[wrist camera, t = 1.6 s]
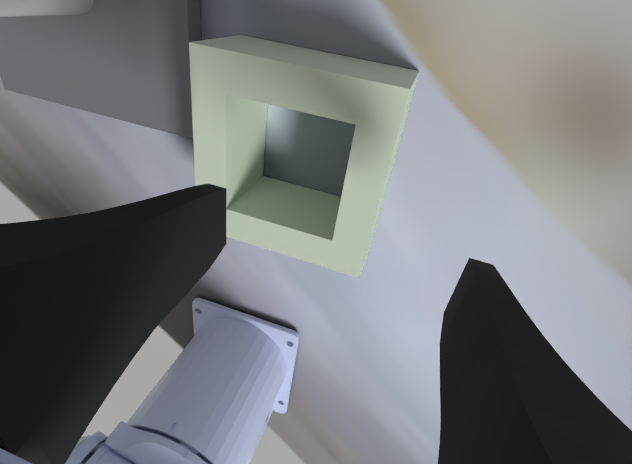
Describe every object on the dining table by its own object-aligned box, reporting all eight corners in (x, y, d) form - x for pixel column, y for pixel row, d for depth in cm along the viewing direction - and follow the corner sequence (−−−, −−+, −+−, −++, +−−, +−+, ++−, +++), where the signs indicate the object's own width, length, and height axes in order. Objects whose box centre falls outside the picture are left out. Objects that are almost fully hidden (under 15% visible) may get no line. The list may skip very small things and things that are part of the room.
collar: (374, 232, 20) (359, 278, 16) (237, 193, 21) (197, 227, 18) (419, 71, 15) (410, 89, 12) (240, 34, 17) (188, 41, 13)
